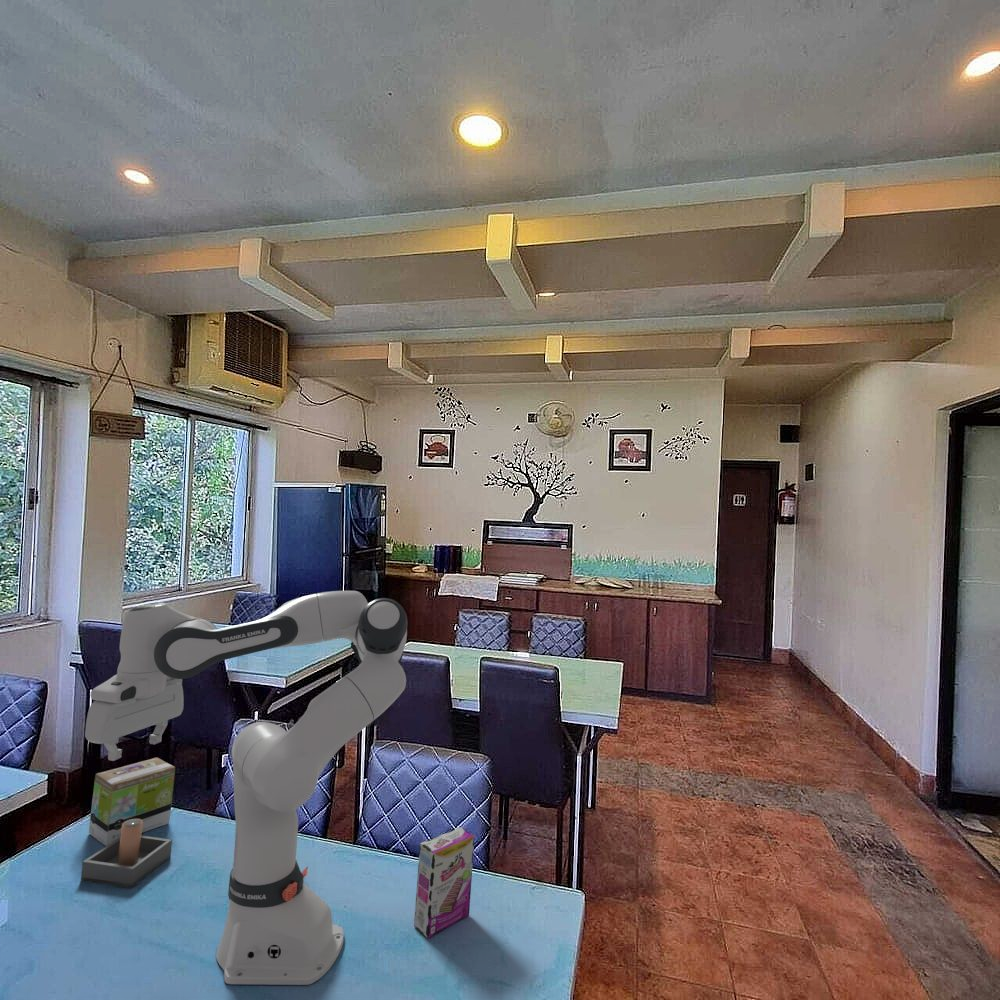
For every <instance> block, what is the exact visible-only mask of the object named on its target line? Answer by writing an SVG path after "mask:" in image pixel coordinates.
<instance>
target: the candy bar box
mask: <svg viewBox="0 0 1000 1000" xmlns="http://www.w3.org/2000/svg"><path fill="white" fill-rule="evenodd" d="M475 838H476V837H475V835H473V834H472V833H471V832H469V831H468V830H466V829H465V828H463V827H460V826H459V827H456V829H453V830H449V831H447V832H446V833H444V834H443V833H442V834H440V835H438V836H435V837H433V838H430V839H427V840H425V841H423V842H420V843H419V853H418V854H419V855H418V865H417V866H418V868H417V879H416V880H417V883H416V894H415V904H414V905H415V906H414V920H413V921H414V922H413V927H414V928H415V929H417V931H419V932H420V933H421V934H422V936H423V937H425V938H426V939H429V938H431V937H433V936H435V935H436V934H438V933H440V932H441V931H443V930H445V929H447V928H449V927H450V926H452V925H454V924H456V923H458V922H460V921H462V920H463V919H465V918H467V917H468V916H470V907H471V906H470V905H471V904H470V903H471V894H472V881H473V878H472V876H473V866H474V865H473V863H474V850H475V849H474V848H475Z"/></svg>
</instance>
